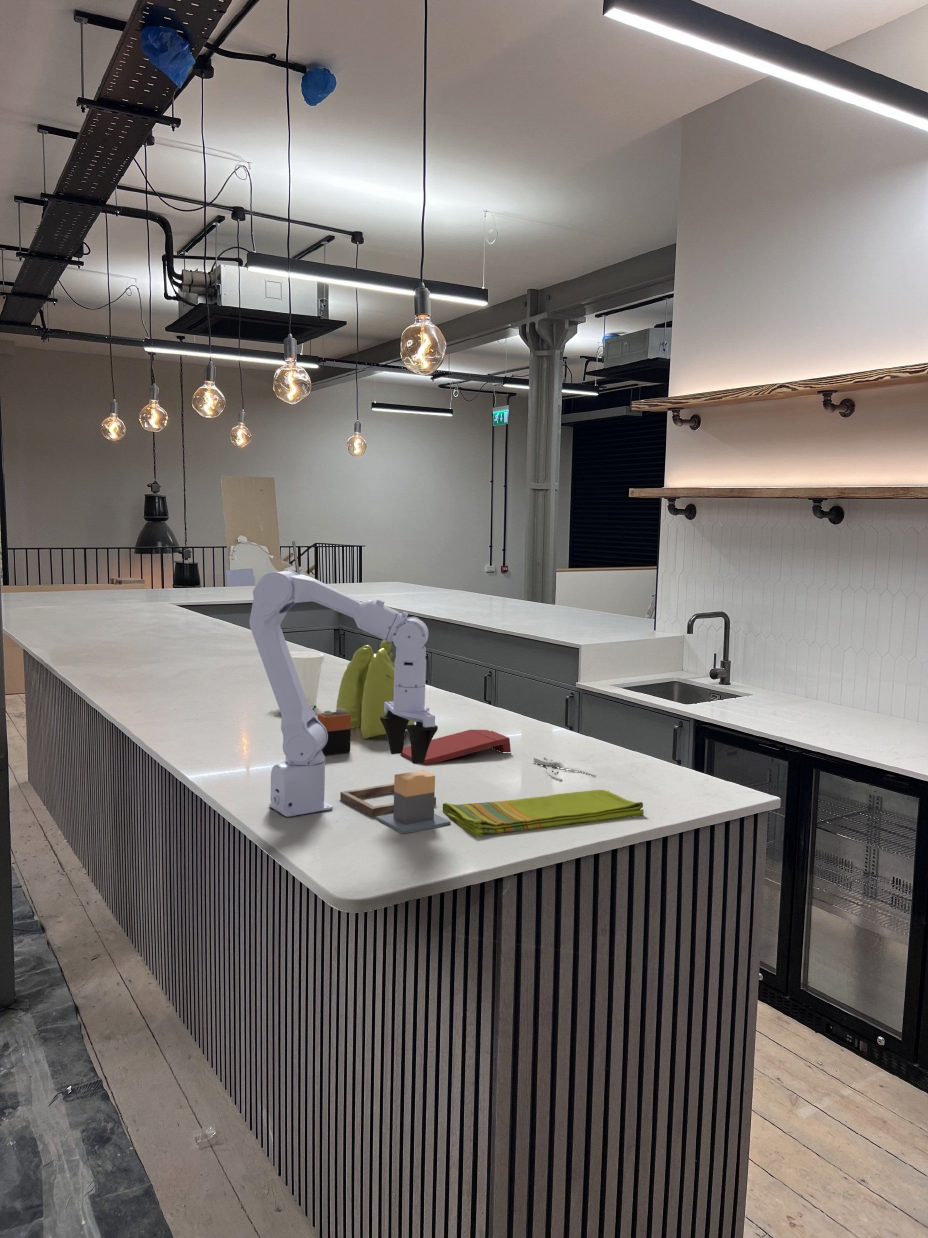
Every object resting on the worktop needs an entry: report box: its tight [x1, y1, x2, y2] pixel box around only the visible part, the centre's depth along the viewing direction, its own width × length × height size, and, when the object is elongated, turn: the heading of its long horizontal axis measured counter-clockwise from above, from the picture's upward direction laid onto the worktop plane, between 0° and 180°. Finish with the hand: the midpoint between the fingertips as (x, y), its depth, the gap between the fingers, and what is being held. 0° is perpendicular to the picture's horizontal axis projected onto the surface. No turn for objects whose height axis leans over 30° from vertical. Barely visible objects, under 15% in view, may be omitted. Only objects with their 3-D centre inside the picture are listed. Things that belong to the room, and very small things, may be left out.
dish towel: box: [442, 789, 645, 838], centre depth 166 cm, size 15×36×3 cm, turn 115°
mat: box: [375, 813, 452, 835], centre depth 159 cm, size 10×9×1 cm
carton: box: [400, 729, 512, 766], centre depth 209 cm, size 12×5×25 cm
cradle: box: [339, 782, 437, 818], centre depth 169 cm, size 14×12×2 cm
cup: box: [289, 651, 325, 707], centre depth 257 cm, size 12×12×15 cm
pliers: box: [533, 756, 597, 782], centre depth 197 cm, size 10×2×15 cm
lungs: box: [335, 639, 416, 740], centre depth 230 cm, size 25×16×24 cm, turn 33°
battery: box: [317, 708, 352, 756], centre depth 205 cm, size 4×7×10 cm, turn 126°
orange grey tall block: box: [393, 770, 436, 825], centre depth 158 cm, size 6×4×8 cm, turn 126°
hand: (407, 758), depth 162 cm, fingers open, 7 cm apart
